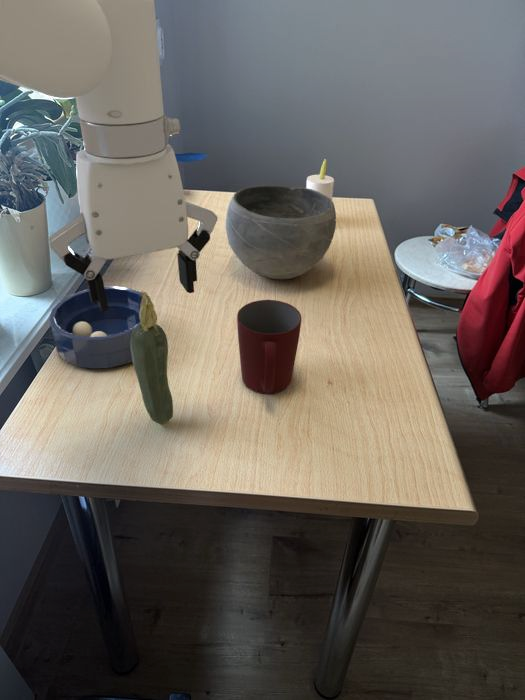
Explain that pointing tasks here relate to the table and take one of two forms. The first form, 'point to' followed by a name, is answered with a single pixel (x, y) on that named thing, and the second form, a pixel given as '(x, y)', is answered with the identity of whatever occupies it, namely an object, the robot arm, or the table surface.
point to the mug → (268, 344)
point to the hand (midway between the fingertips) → (145, 296)
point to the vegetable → (152, 363)
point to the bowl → (280, 229)
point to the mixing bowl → (97, 327)
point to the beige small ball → (82, 329)
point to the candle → (321, 182)
